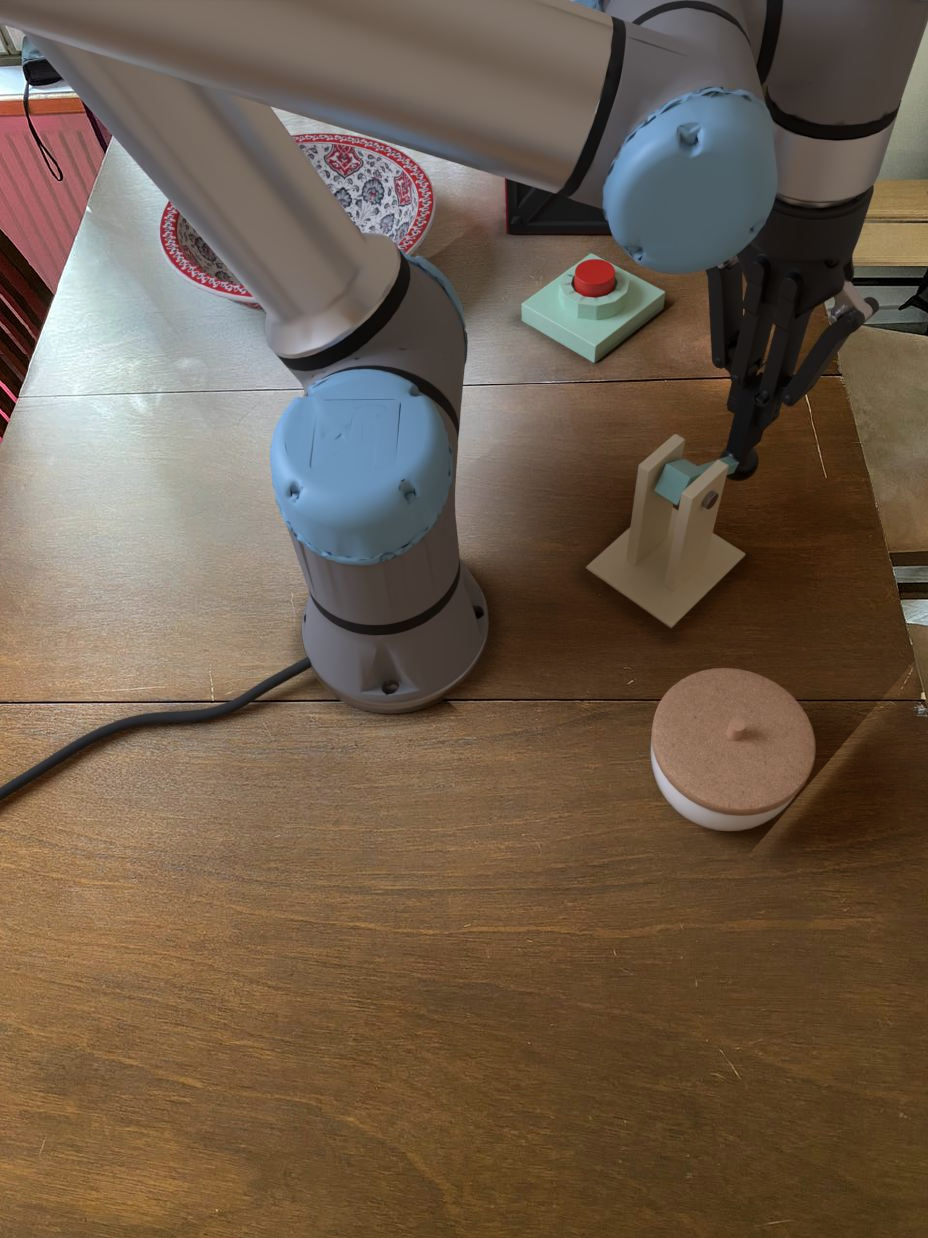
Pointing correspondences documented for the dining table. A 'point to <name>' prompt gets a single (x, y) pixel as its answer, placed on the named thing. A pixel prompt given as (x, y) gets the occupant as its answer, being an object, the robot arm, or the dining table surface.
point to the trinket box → (730, 748)
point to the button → (594, 278)
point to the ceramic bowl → (362, 183)
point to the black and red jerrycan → (549, 212)
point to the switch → (686, 473)
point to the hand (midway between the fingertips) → (743, 445)
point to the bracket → (669, 541)
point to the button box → (592, 312)
